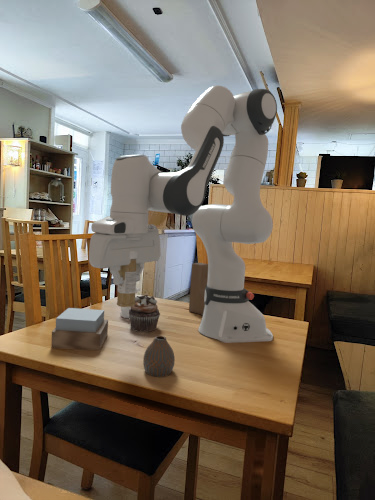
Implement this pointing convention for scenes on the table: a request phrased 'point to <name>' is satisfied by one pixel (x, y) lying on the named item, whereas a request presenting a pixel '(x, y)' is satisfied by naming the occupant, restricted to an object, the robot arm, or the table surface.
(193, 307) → the wooden block
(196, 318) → the table surface
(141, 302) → the cupcake
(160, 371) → the vase
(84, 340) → the tower base block
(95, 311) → the tower top block
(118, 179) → the robot arm
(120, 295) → the sprinkles bottle
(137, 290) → the rabbit
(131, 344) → the table surface
